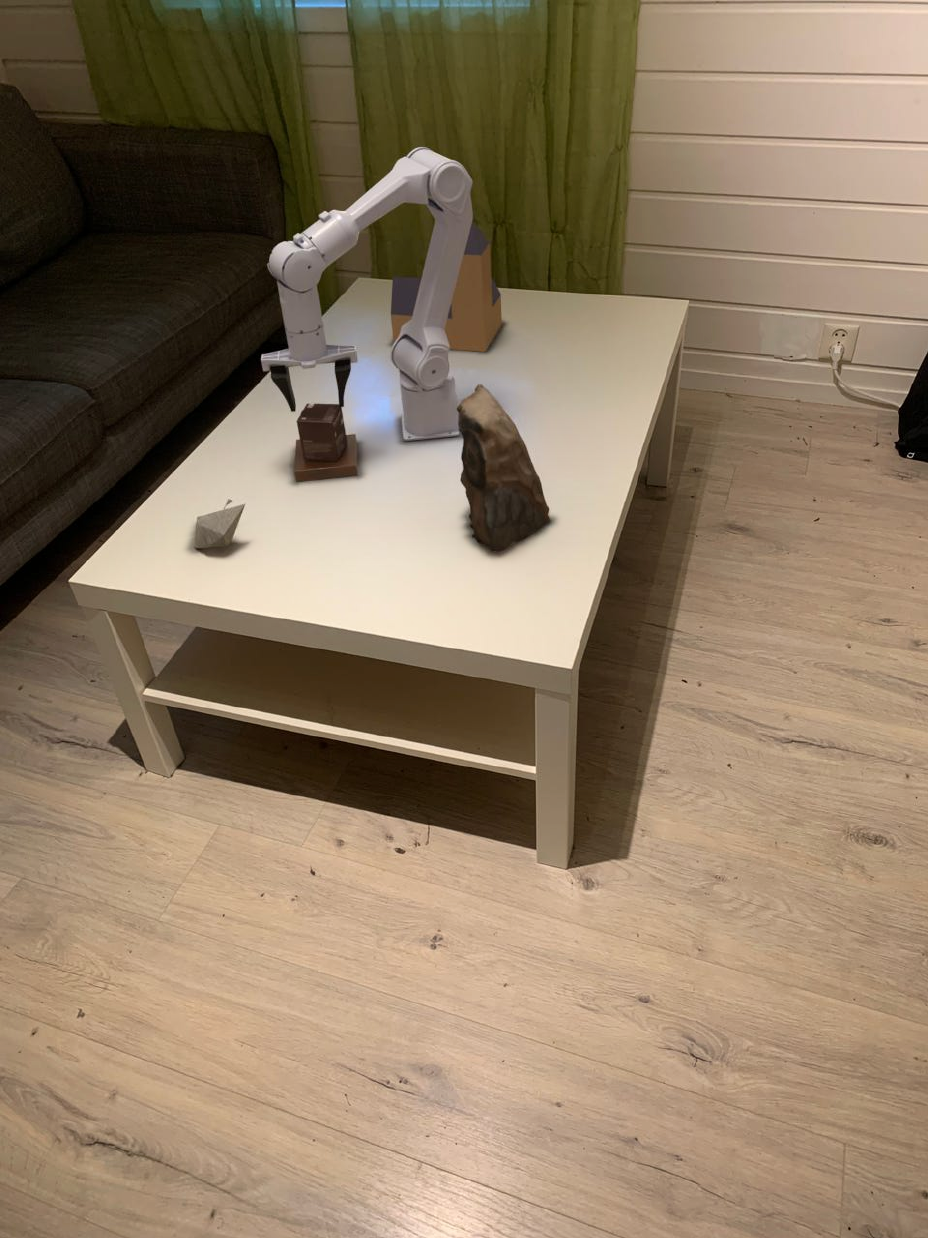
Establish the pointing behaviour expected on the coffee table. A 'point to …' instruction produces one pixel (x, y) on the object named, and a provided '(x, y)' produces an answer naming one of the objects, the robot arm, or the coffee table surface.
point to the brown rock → (498, 474)
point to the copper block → (327, 464)
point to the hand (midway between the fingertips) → (317, 406)
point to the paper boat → (217, 527)
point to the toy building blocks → (459, 299)
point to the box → (322, 432)
